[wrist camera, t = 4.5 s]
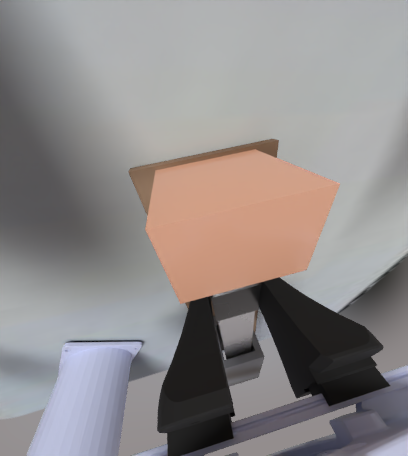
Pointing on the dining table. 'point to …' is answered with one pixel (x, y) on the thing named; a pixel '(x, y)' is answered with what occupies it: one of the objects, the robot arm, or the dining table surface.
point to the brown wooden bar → (234, 367)
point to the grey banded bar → (236, 318)
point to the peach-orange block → (235, 221)
